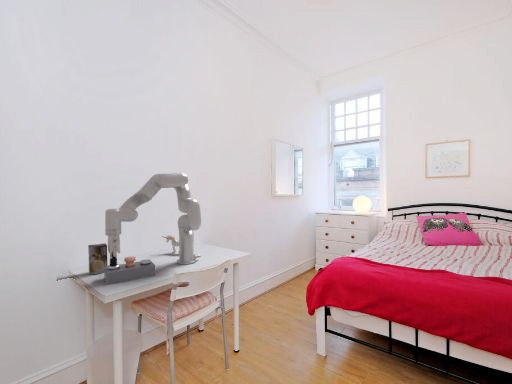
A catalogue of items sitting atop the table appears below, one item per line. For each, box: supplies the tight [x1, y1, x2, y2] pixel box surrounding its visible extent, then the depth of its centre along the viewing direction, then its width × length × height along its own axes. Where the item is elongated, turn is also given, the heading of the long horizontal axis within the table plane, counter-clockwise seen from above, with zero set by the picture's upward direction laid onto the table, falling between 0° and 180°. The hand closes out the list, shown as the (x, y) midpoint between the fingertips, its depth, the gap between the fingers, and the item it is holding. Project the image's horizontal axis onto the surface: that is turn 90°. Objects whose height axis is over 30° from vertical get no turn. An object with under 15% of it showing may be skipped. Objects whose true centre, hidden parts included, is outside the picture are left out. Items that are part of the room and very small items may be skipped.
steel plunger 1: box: [108, 263, 120, 270], centre depth 141 cm, size 6×6×6 cm
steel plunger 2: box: [139, 258, 152, 265], centre depth 150 cm, size 6×6×6 cm
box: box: [103, 260, 156, 285], centre depth 145 cm, size 24×12×6 cm, turn 125°
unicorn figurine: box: [161, 234, 179, 254], centre depth 195 cm, size 7×20×13 cm, turn 87°
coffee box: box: [87, 242, 109, 276], centre depth 152 cm, size 9×6×16 cm
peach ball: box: [124, 256, 137, 268], centre depth 145 cm, size 6×6×6 cm
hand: (113, 265), depth 140 cm, fingers closed
